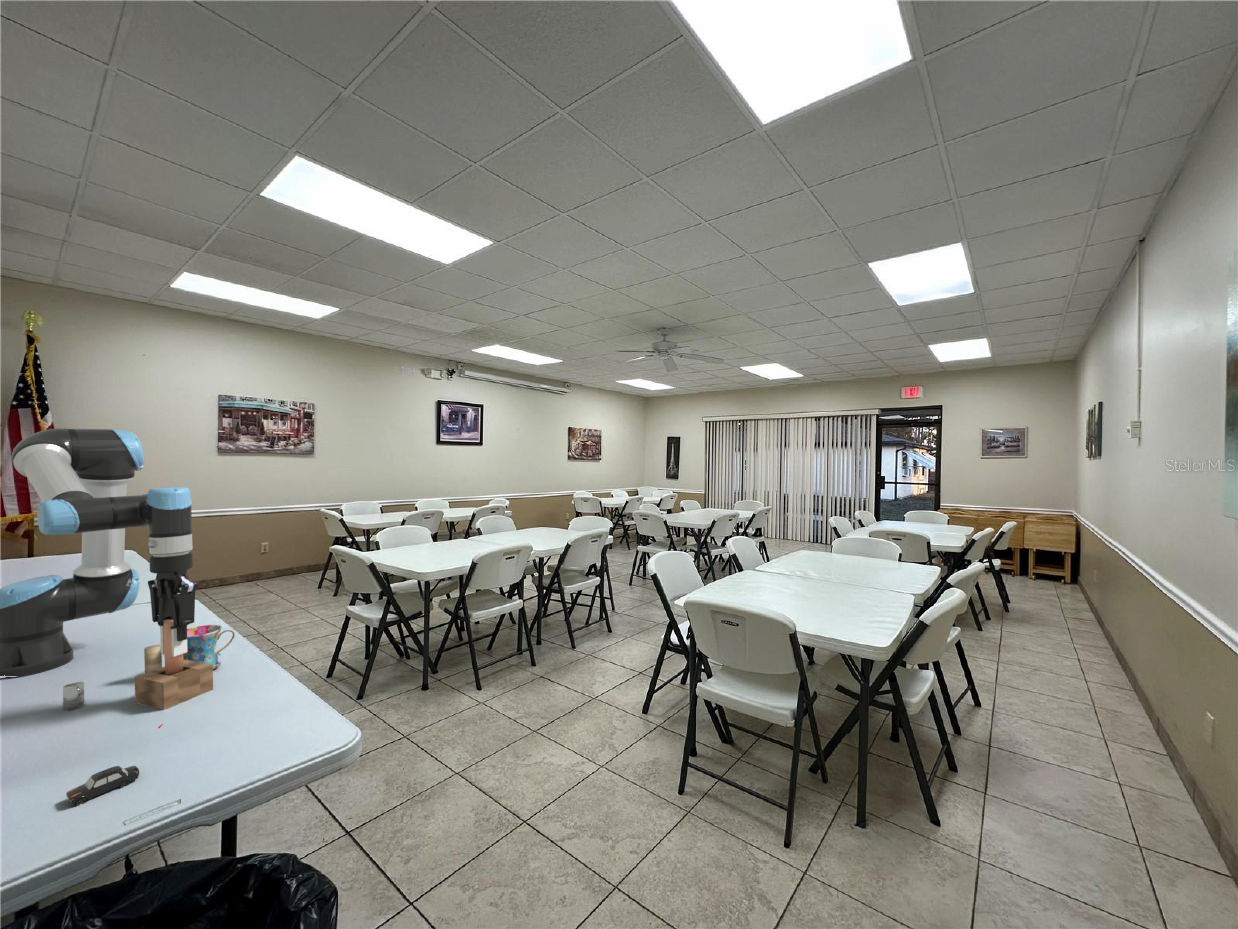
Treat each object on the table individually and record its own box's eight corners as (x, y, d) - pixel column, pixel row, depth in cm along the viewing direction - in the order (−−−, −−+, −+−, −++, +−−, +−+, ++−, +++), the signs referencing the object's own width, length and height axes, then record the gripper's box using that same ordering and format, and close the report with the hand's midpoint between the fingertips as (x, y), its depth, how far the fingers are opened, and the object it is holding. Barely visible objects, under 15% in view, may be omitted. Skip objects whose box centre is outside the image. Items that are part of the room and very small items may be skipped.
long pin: (161, 674, 116) (160, 622, 115) (177, 668, 119) (176, 618, 118) (170, 676, 115) (169, 624, 114) (186, 670, 118) (185, 619, 117)
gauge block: (135, 703, 114) (134, 677, 114) (185, 683, 123) (184, 659, 123) (164, 709, 110) (163, 683, 110) (213, 689, 120) (212, 664, 120)
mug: (177, 682, 124) (176, 640, 124) (175, 670, 131) (174, 630, 130) (237, 667, 132) (236, 628, 132) (233, 657, 139) (232, 619, 139)
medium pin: (142, 680, 125) (141, 648, 125) (157, 675, 128) (156, 644, 128) (150, 682, 124) (149, 650, 124) (165, 676, 127) (164, 645, 127)
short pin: (59, 709, 111) (59, 687, 111) (78, 703, 114) (78, 681, 114) (68, 711, 110) (68, 689, 110) (87, 705, 113) (87, 683, 113)
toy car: (64, 802, 82) (63, 754, 81) (161, 763, 92) (159, 721, 91) (70, 811, 79) (68, 762, 79) (168, 770, 89) (166, 727, 89)
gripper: (129, 554, 115) (132, 655, 116) (175, 558, 110) (178, 664, 110) (167, 548, 122) (170, 643, 123) (212, 552, 117) (215, 651, 118)
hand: (174, 653), depth 117 cm, fingers closed on long pin, 3 cm apart
